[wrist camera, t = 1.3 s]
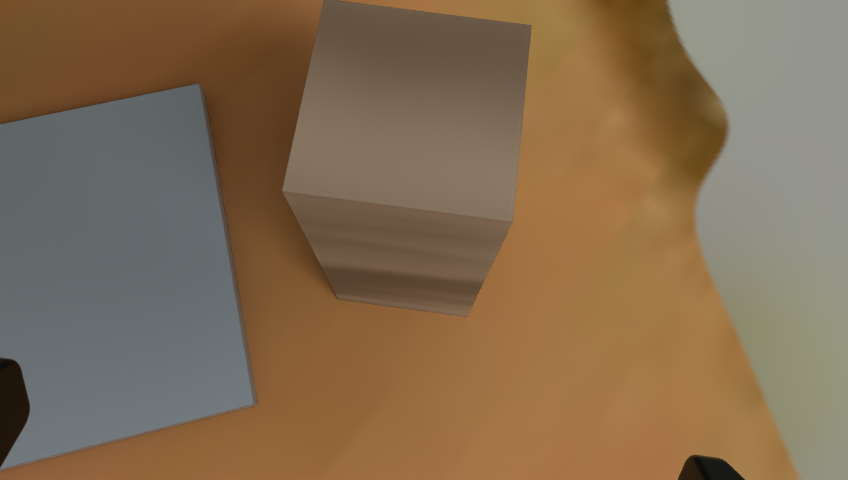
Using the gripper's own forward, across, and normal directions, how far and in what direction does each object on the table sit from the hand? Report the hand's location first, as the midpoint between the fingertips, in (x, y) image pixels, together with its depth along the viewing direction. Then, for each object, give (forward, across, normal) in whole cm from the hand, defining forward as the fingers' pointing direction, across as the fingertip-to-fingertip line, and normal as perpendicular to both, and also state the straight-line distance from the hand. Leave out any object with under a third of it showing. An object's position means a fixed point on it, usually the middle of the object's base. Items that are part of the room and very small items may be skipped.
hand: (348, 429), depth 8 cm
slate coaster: (+11, +12, +6) cm, 18 cm away
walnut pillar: (+13, 0, +4) cm, 14 cm away
